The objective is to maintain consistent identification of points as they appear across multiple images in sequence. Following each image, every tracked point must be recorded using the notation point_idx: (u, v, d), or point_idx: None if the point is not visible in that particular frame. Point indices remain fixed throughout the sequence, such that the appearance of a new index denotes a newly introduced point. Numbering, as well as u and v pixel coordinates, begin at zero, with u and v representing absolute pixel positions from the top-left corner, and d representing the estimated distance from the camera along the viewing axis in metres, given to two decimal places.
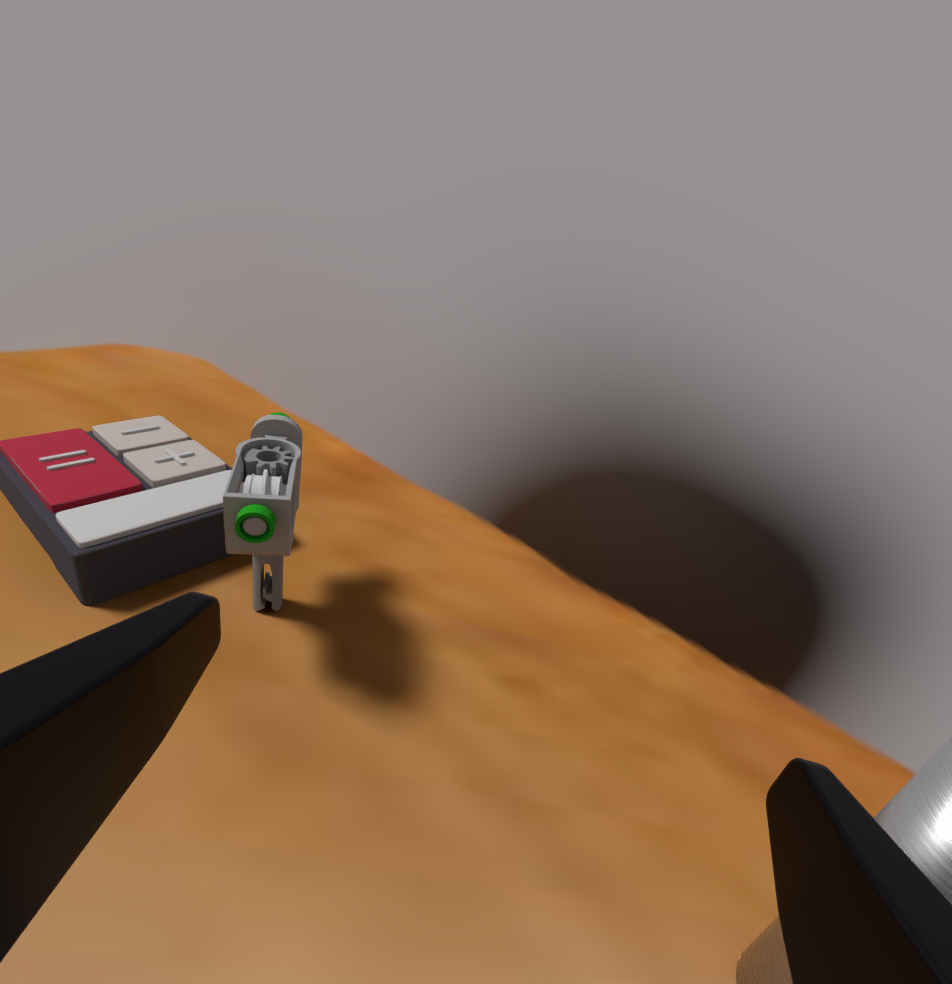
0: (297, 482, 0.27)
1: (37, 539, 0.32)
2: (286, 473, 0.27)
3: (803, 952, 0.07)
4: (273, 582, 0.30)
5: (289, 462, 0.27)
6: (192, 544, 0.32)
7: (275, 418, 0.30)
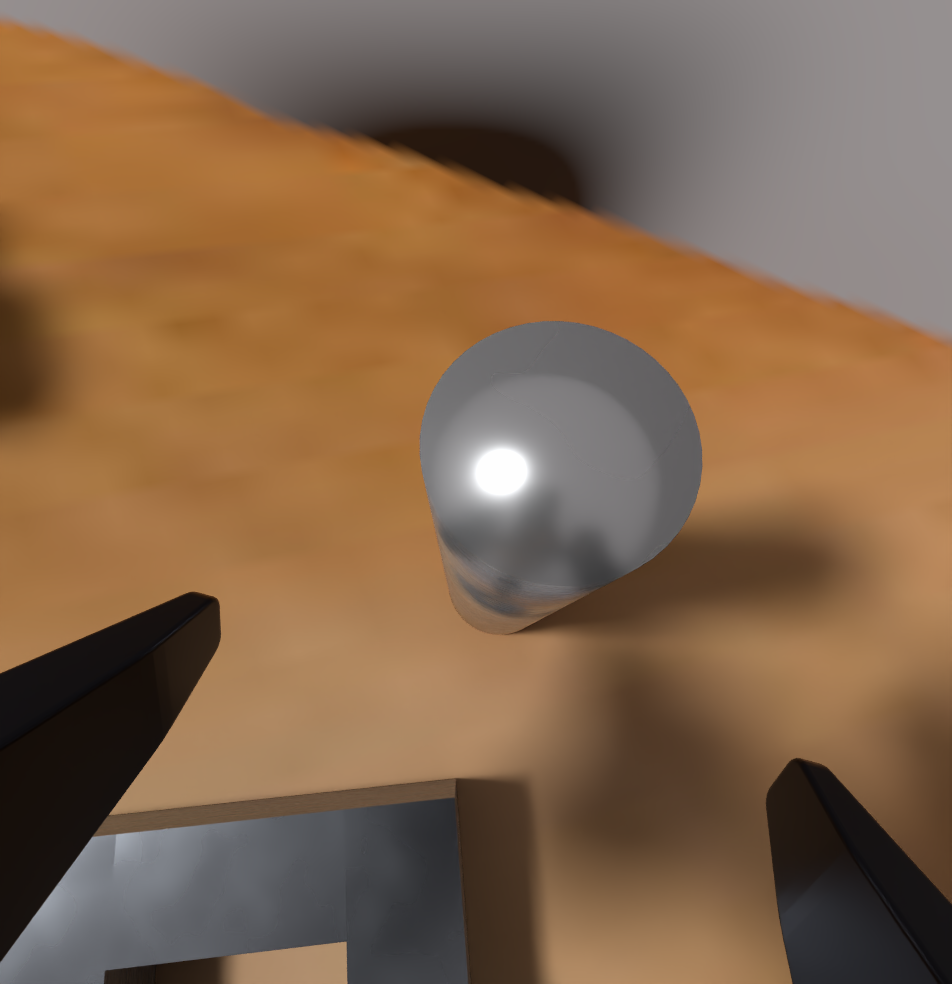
0: None
1: None
2: None
3: (803, 952, 0.07)
4: None
5: None
6: None
7: None
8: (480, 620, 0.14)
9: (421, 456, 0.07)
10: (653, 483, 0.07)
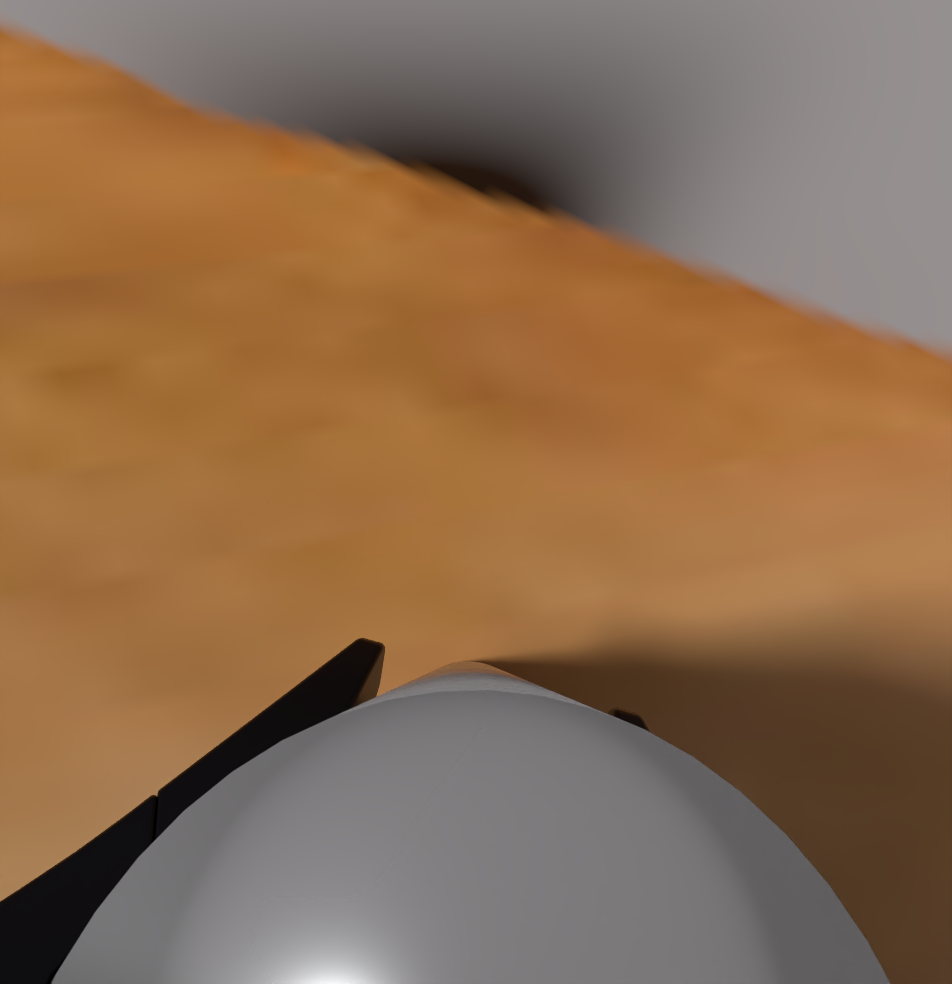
0: None
1: None
2: None
3: None
4: None
5: None
6: None
7: None
8: None
9: None
10: None
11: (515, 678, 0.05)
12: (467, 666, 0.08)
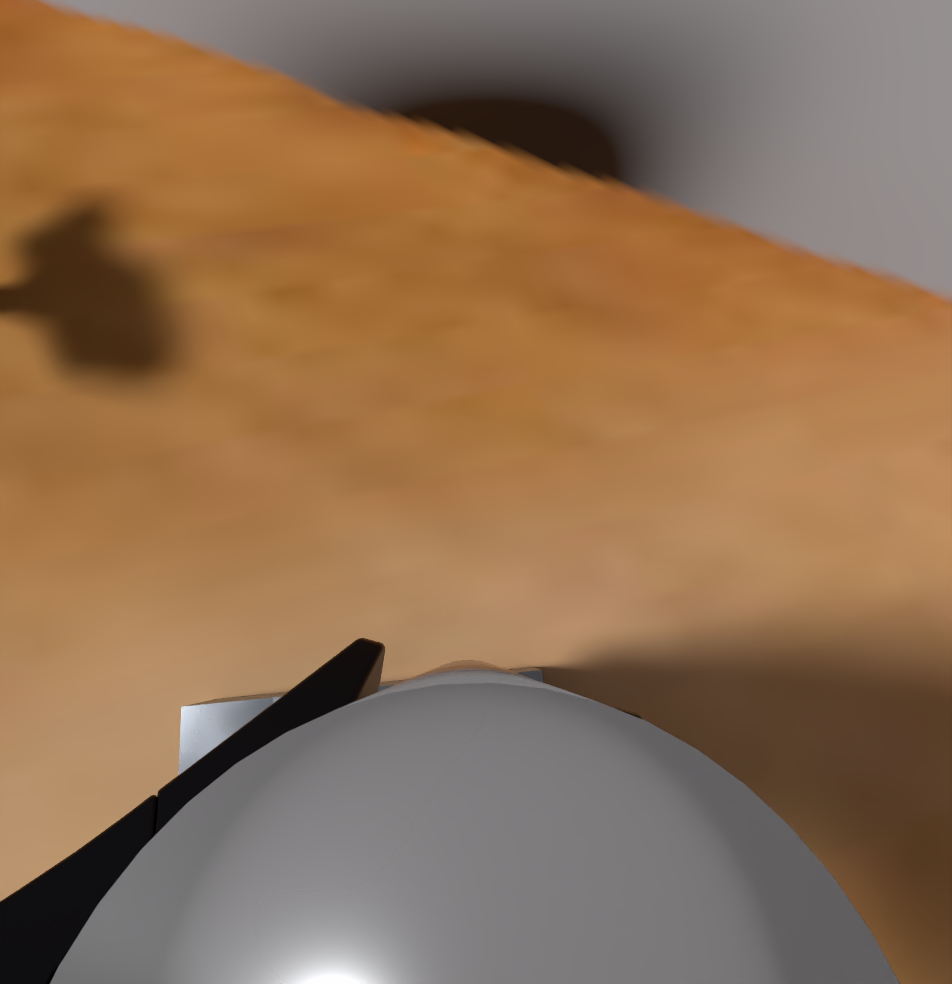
0: None
1: None
2: None
3: None
4: None
5: None
6: None
7: None
8: None
9: None
10: None
11: (517, 674, 0.05)
12: None
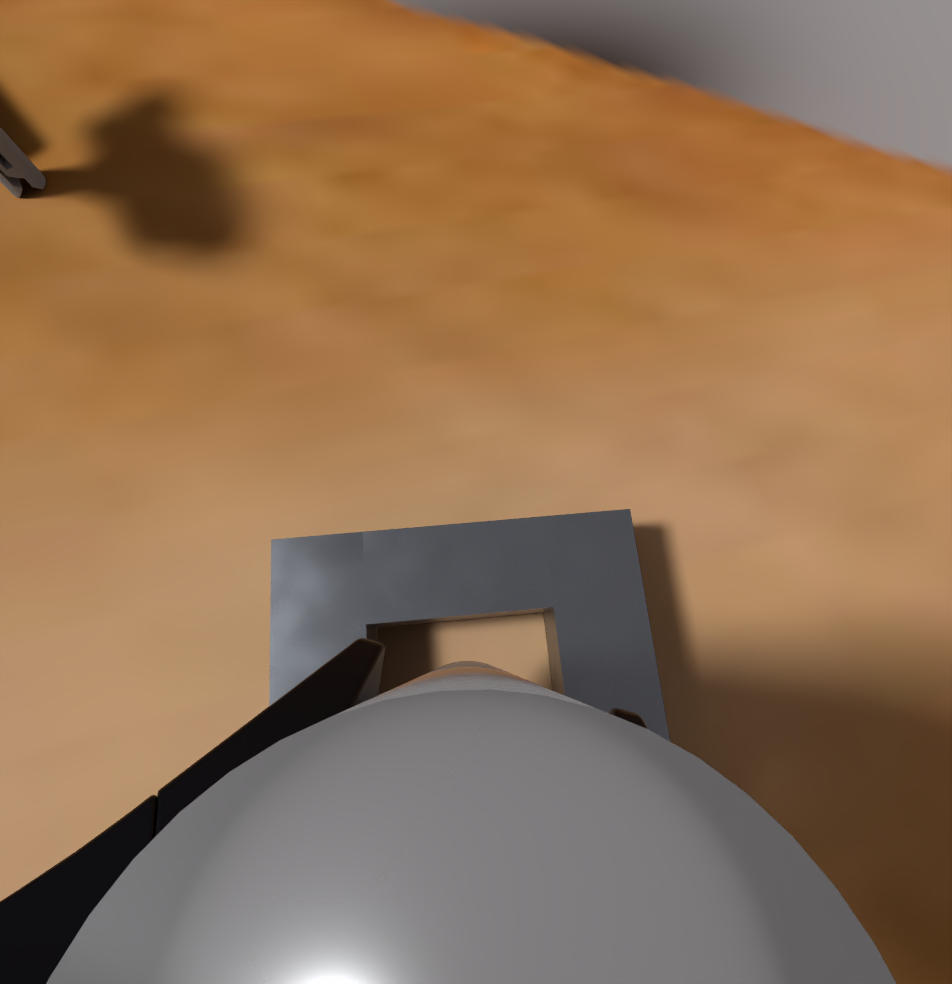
0: None
1: None
2: None
3: None
4: None
5: None
6: None
7: None
8: None
9: None
10: None
11: (516, 678, 0.05)
12: None
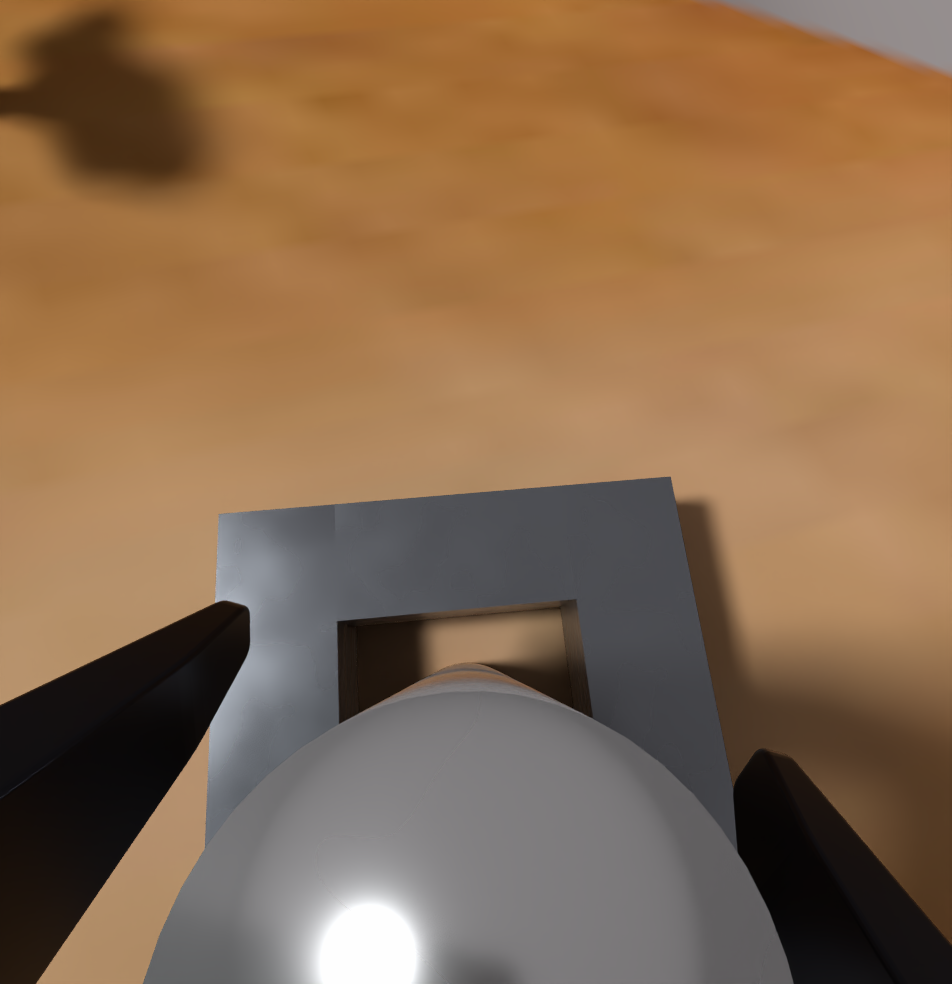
0: None
1: None
2: None
3: None
4: None
5: None
6: None
7: None
8: None
9: None
10: None
11: (507, 680, 0.06)
12: (467, 669, 0.09)
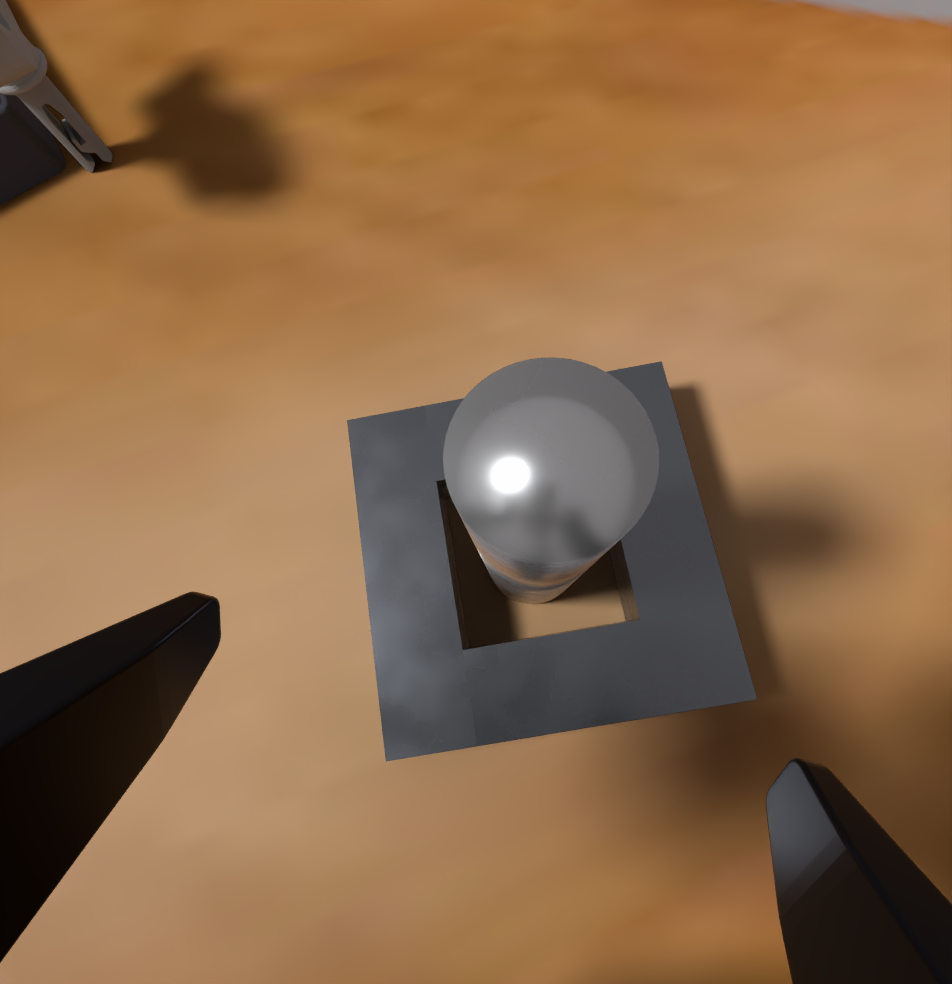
0: None
1: None
2: None
3: (803, 952, 0.07)
4: (74, 126, 0.26)
5: None
6: None
7: None
8: (515, 592, 0.17)
9: None
10: (622, 478, 0.09)
11: None
12: None
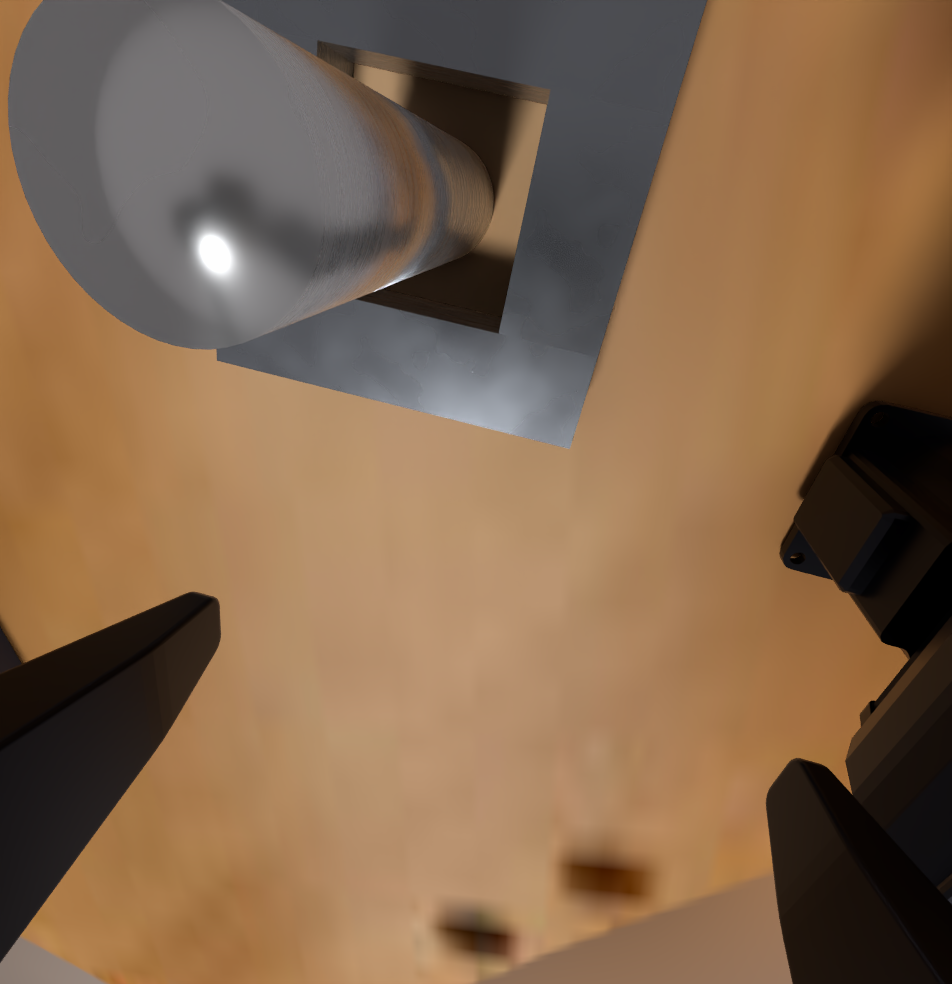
0: None
1: None
2: None
3: (803, 952, 0.07)
4: None
5: None
6: None
7: None
8: (450, 252, 0.14)
9: (176, 345, 0.07)
10: (214, 73, 0.05)
11: None
12: None
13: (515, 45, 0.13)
